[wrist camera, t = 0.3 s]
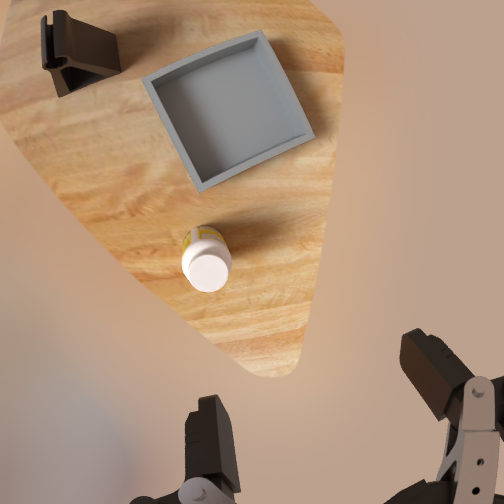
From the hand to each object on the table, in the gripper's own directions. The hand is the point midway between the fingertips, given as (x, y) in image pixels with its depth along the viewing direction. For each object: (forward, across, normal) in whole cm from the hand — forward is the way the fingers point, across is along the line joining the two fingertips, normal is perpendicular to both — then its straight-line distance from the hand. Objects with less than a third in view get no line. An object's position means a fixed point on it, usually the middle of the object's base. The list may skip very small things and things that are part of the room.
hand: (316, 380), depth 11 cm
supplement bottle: (+28, +6, +4) cm, 29 cm away
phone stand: (+30, +14, -24) cm, 41 cm away
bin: (+30, -1, -12) cm, 32 cm away
